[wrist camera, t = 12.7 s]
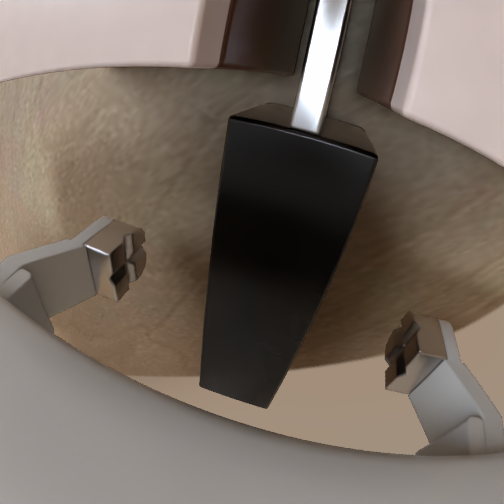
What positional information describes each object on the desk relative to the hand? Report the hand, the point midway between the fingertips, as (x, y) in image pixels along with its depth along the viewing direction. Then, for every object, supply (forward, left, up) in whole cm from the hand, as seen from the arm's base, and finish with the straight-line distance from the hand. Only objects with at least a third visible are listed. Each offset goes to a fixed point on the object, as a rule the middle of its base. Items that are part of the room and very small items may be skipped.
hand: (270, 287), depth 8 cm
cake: (+12, 0, -2) cm, 13 cm away
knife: (+7, 0, -1) cm, 7 cm away
